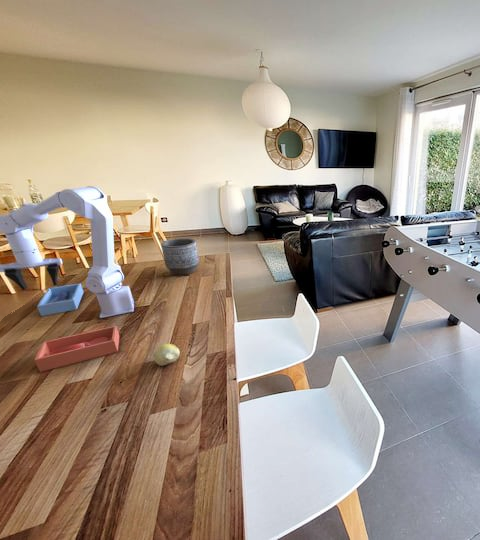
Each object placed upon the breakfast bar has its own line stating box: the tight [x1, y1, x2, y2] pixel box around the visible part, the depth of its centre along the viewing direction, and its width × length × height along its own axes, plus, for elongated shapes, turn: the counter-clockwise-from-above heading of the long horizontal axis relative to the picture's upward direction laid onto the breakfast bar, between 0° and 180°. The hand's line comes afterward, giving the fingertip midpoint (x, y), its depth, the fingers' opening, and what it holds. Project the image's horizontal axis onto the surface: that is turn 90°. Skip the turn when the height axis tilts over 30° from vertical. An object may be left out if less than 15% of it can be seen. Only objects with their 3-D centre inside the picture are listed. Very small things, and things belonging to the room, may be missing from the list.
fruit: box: [153, 343, 181, 366], centre depth 82 cm, size 6×6×10 cm
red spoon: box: [51, 337, 108, 355], centre depth 83 cm, size 12×4×3 cm, turn 125°
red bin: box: [34, 325, 120, 373], centre depth 83 cm, size 16×9×4 cm, turn 125°
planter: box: [160, 237, 200, 276], centre depth 138 cm, size 14×14×15 cm
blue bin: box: [36, 283, 84, 317], centre depth 108 cm, size 16×9×4 cm, turn 35°
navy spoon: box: [52, 291, 70, 303], centre depth 108 cm, size 12×4×3 cm, turn 35°
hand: (40, 286), depth 100 cm, fingers open, 7 cm apart
